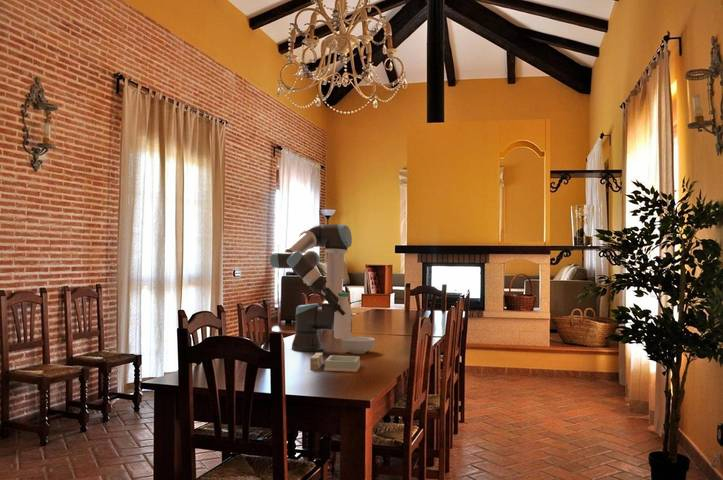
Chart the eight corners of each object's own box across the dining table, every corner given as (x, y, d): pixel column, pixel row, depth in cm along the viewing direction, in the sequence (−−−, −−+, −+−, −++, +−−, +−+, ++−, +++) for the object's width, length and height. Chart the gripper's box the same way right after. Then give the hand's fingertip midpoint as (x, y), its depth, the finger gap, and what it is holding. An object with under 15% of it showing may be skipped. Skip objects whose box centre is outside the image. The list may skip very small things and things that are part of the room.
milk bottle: (349, 340, 257) (350, 293, 257) (331, 339, 259) (332, 292, 259) (353, 337, 265) (354, 292, 265) (336, 336, 266) (337, 291, 267)
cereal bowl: (375, 350, 309) (376, 336, 309) (373, 356, 292) (373, 341, 292) (343, 349, 310) (343, 335, 310) (338, 354, 294) (339, 340, 294)
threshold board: (316, 363, 270) (316, 352, 270) (322, 363, 270) (323, 352, 270) (310, 369, 256) (310, 358, 256) (317, 370, 256) (317, 358, 256)
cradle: (329, 364, 269) (329, 355, 269) (360, 365, 268) (360, 356, 268) (324, 370, 255) (324, 360, 255) (356, 371, 254) (356, 362, 254)
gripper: (313, 285, 274) (347, 322, 272) (304, 288, 254) (341, 327, 252) (325, 274, 273) (359, 310, 271) (316, 276, 253) (354, 315, 251)
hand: (350, 318), depth 262 cm, fingers closed on milk bottle, 7 cm apart
